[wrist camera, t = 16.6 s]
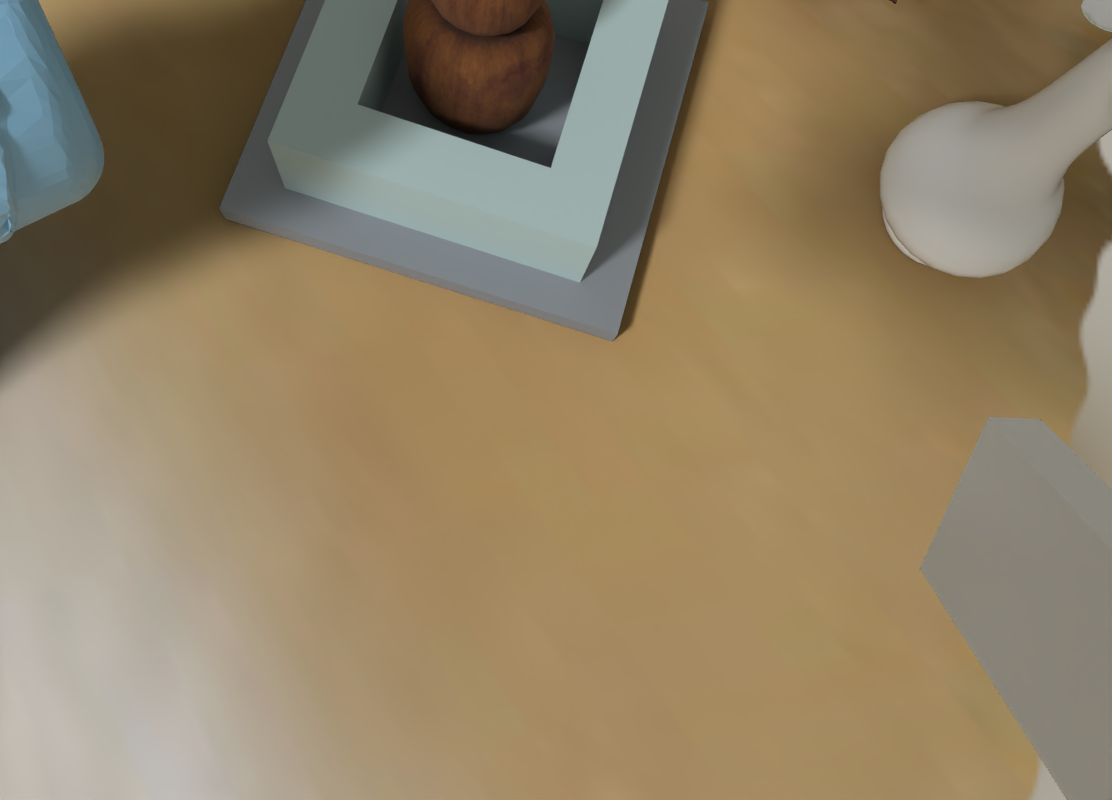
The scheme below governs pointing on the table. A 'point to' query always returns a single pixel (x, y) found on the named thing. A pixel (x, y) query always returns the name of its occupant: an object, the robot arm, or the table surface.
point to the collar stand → (475, 158)
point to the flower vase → (994, 168)
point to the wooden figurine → (478, 59)
